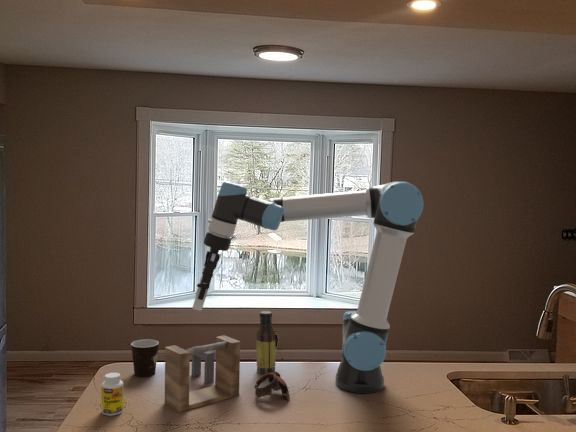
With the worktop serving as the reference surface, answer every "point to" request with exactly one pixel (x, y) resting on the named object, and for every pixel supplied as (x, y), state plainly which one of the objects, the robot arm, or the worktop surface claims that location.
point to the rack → (180, 369)
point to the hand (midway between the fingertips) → (198, 303)
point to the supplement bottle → (112, 395)
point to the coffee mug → (144, 357)
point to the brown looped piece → (271, 385)
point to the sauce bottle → (265, 344)
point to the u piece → (209, 365)
